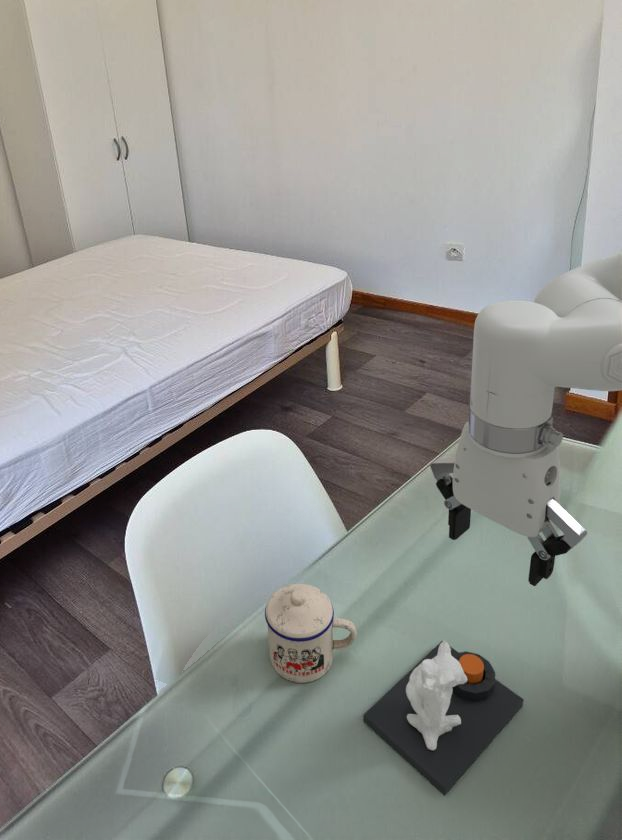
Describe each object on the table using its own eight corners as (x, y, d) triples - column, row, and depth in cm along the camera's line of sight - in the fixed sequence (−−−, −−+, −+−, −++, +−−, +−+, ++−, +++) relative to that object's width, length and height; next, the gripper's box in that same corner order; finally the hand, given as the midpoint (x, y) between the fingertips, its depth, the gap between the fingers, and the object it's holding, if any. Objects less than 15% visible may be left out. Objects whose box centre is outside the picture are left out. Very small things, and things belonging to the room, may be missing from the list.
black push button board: (443, 645, 94) (444, 630, 93) (524, 704, 86) (527, 688, 84) (363, 722, 85) (363, 706, 84) (444, 796, 77) (446, 779, 75)
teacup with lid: (264, 683, 91) (259, 620, 86) (272, 627, 99) (267, 566, 94) (356, 690, 89) (356, 626, 84) (356, 632, 97) (356, 571, 92)
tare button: (467, 659, 89) (468, 649, 88) (487, 674, 87) (488, 664, 86) (453, 672, 87) (454, 663, 87) (473, 688, 85) (474, 678, 85)
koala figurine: (445, 767, 78) (451, 697, 73) (390, 738, 82) (392, 668, 76) (469, 709, 84) (477, 640, 79) (417, 683, 88) (421, 616, 83)
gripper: (615, 441, 64) (592, 577, 71) (456, 381, 76) (450, 502, 84) (575, 478, 60) (555, 619, 67) (413, 408, 72) (411, 533, 80)
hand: (497, 554), depth 75 cm, fingers open, 9 cm apart
